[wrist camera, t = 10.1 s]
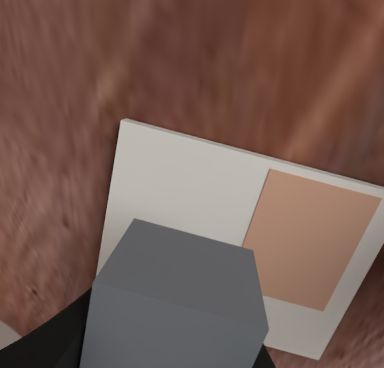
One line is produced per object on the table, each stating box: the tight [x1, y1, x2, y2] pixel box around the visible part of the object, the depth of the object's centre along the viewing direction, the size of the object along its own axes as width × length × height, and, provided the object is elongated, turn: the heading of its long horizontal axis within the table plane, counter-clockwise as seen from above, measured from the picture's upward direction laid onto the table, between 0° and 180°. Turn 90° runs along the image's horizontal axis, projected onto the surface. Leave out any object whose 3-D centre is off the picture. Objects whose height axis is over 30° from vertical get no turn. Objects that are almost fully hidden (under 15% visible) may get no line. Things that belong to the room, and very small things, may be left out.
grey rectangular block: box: [80, 218, 269, 368], centre depth 11 cm, size 5×7×4 cm
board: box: [96, 119, 384, 360], centre depth 20 cm, size 18×15×1 cm
